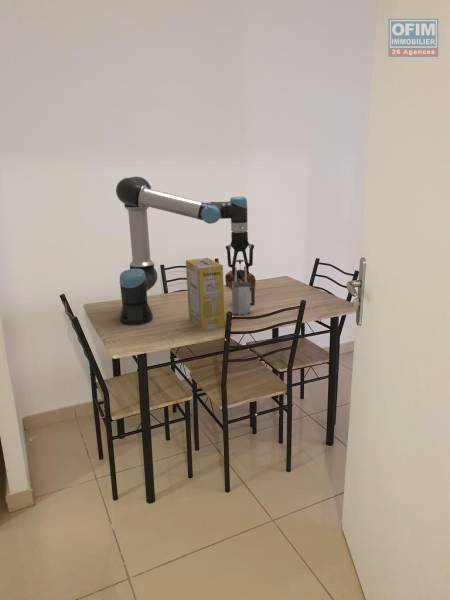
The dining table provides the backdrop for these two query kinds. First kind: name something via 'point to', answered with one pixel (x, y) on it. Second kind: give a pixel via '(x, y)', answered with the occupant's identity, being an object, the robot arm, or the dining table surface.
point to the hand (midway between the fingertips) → (240, 280)
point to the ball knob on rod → (240, 275)
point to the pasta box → (205, 293)
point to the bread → (230, 279)
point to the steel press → (242, 298)
